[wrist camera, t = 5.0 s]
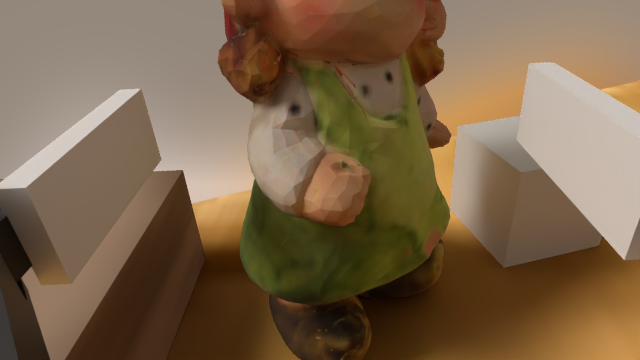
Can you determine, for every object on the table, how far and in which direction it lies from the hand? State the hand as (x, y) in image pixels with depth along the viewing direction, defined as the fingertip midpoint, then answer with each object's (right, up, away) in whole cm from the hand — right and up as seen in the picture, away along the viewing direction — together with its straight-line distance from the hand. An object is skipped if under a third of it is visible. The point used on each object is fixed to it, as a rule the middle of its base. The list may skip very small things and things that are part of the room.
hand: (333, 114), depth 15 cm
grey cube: (+12, -5, +12) cm, 17 cm away
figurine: (+2, -9, +7) cm, 11 cm away
